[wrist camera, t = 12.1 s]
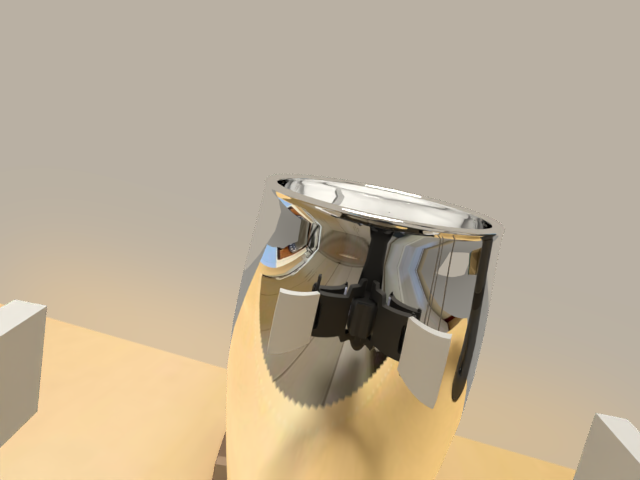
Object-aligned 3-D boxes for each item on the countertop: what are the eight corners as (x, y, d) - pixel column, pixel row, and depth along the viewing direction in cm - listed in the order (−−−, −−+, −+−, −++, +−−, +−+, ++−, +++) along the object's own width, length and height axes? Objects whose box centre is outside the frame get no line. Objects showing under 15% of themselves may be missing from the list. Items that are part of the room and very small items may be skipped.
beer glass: (376, 570, 22) (469, 202, 19) (408, 772, 15) (561, 251, 12) (201, 545, 22) (266, 163, 18) (154, 743, 15) (244, 193, 12)
